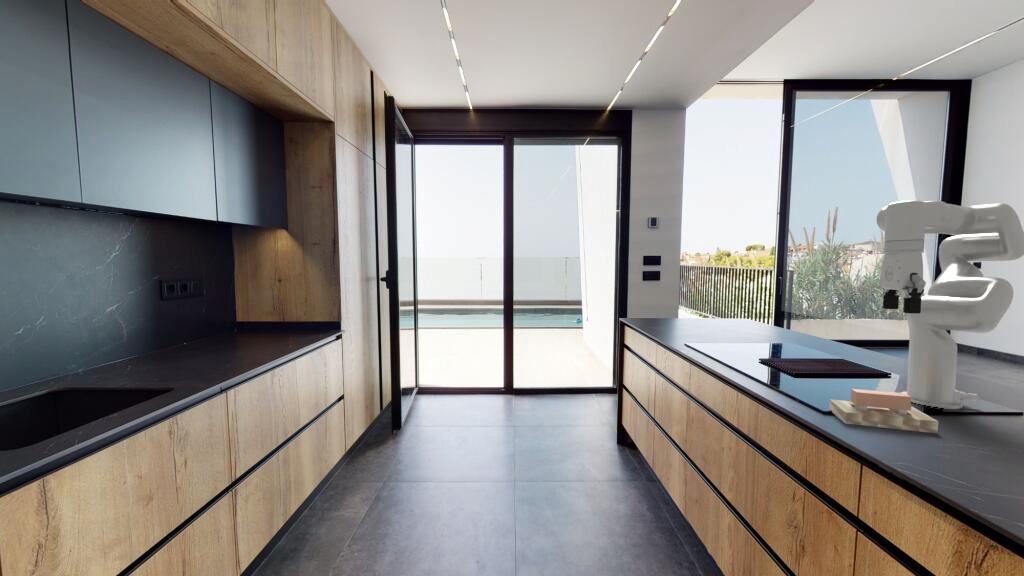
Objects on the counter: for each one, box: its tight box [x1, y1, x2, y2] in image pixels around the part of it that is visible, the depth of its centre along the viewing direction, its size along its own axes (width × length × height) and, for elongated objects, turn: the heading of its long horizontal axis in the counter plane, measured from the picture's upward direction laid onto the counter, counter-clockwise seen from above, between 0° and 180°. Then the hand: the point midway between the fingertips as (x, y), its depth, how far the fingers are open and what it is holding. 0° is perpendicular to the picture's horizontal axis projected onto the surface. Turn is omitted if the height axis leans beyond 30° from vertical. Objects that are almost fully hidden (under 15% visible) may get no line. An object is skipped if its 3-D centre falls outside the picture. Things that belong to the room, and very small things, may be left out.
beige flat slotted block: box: [828, 398, 939, 434], centre depth 100 cm, size 18×10×3 cm, turn 69°
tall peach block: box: [850, 388, 912, 415], centre depth 100 cm, size 11×3×8 cm, turn 69°
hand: (900, 311), depth 103 cm, fingers open, 9 cm apart
